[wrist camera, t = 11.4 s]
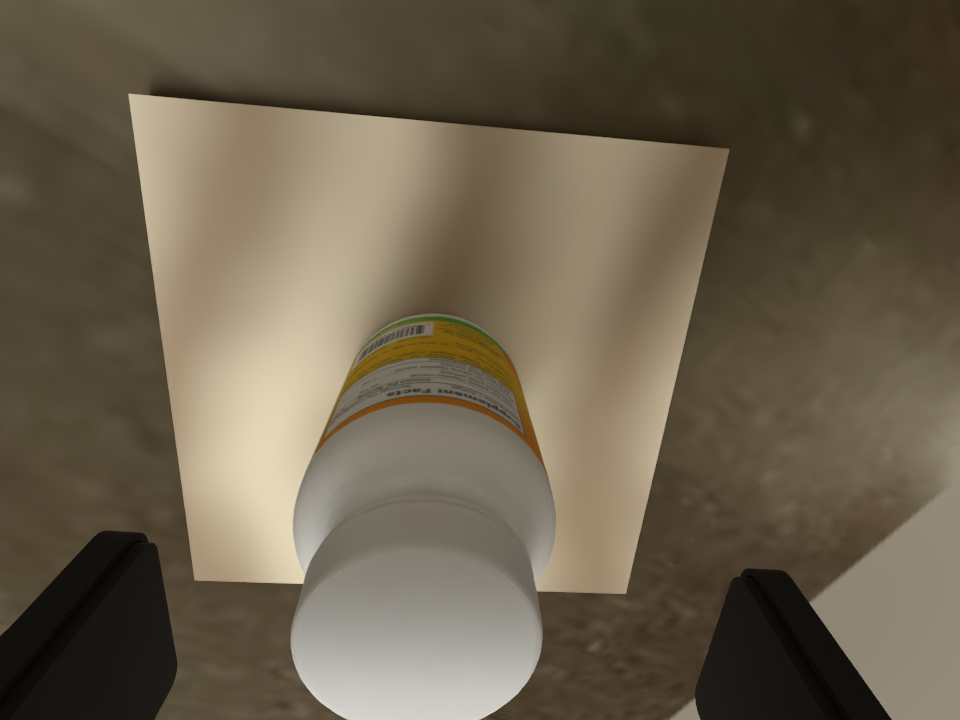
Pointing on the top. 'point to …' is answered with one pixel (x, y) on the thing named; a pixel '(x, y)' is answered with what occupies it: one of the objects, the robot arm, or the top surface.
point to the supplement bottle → (423, 531)
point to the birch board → (414, 301)
